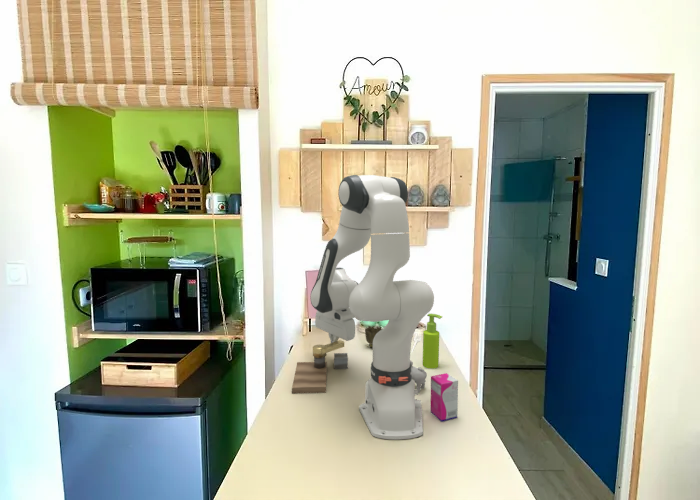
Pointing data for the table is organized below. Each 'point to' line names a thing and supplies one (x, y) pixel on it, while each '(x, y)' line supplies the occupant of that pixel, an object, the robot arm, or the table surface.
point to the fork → (416, 341)
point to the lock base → (316, 374)
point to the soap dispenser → (431, 344)
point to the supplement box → (444, 397)
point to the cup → (371, 334)
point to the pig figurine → (418, 376)
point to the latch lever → (326, 348)
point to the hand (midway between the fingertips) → (334, 344)
